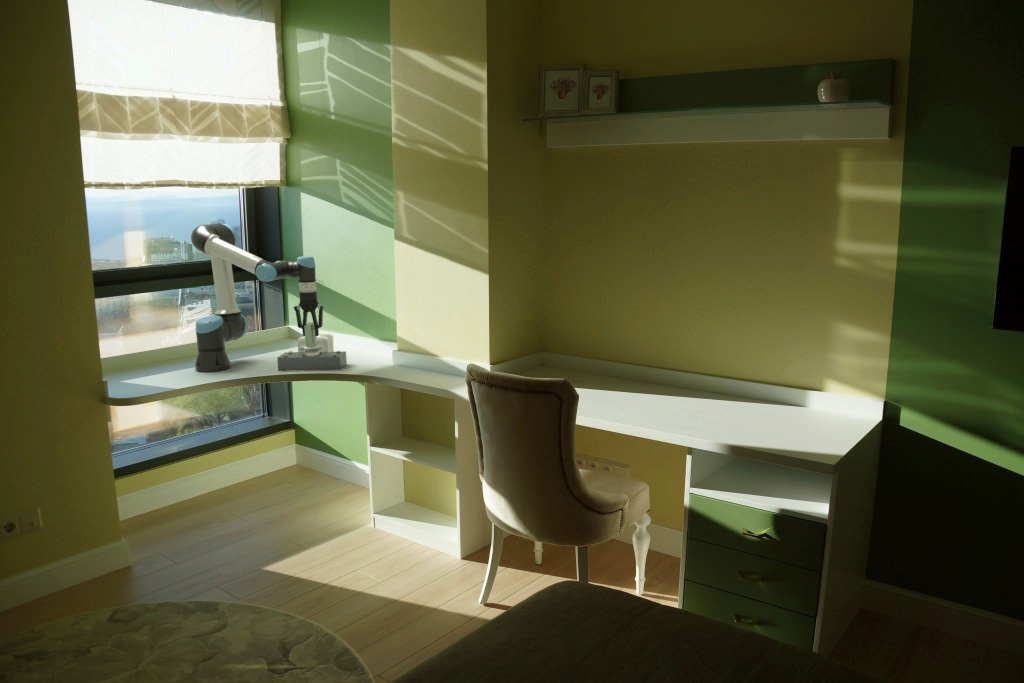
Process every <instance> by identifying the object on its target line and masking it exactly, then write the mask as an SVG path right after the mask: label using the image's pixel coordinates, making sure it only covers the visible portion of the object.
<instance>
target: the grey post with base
mask: <svg viewBox="0 0 1024 683" xmlns="http://www.w3.org/2000/svg"><path fill="white" fill-rule="evenodd" d="M304 328H305V342H306V345H302V346H301V349H302V350H304V356H319V355H320V349H321V348H323V345H321V344H317V343H316V344H314V337H313V329H314V323H313V322H307V324H306V325H304Z"/></svg>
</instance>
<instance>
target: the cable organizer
mask: <svg viewBox="0 0 1024 683" xmlns="http://www.w3.org/2000/svg"><path fill="white" fill-rule="evenodd" d="M296 341H297V352H304V350H302V349H301V346H302V345H306V342H305V336H301V337H299V338H298V339H297V340H296ZM317 344H321V345H323V348H321V349H320V352H335V349H334V336H333V334H332V333H327V332H326V333H325V332H324V333H323V332H321V333H319V335H318V336H317Z"/></svg>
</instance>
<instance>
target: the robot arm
mask: <svg viewBox="0 0 1024 683" xmlns="http://www.w3.org/2000/svg"><path fill="white" fill-rule="evenodd" d="M191 232H192V233H191V236H190V239H191V240H190V241H191V244H192V246H194V248H195V249H196V250H198V251H199V252H201V253H203V254H205V255H207V256H208V257H209V258H210V261H211V268H212V275H213V284H214V290H215V299H216V305H217V309H216V311H215V312H214V315H208V316H204V317H200V318H199V319H197V320H196V321H195V335H196V336H195V337H196V343H197V344H196V345H197V355H196V356H197V357H196V361H195V365H194V367H195V371H196V370H197V372H200V371H213V372H219V371H218V370H221V371H224V370H223V369H225V370H228V369H230V368H231V366H232V365H231V361H230V358H229V356H228V354H227V352H226V343H227V342H230V341H236V340H238V339H241V338H242V337H244V336H245V335H246V333H247V332H248V328H249V325H248V324H249V323H248V320H247V318H246V317H245V315H243V314H242V310H241V309H239V307H238V306H237V305H238V304H237V298H236V297H237V296H236V289H235V282H234V273H233V265H234V266H236V267H239V268H240V269H243V270H245V271H247V272H249V273H251V274H253V275H255V276H256V277H257V279H258V281H260V282H266V283H267V282H272V281H277V280H278V281H279V280H282V279H283V280H284V279H289V278H291V279H297V280H298V289H299V293H298V294H299V302H298V305H295V306H293V310H294V312H295V315H296V323H297V327H298V328H299V329H301V330H302V337H304V336H305V328H304V325H306V324H308V322H307V321H308V313H310V316H311V318H312V323H314V329H313V337H314V344H316V343H317V336H318V335H319V332H320V330H319V329H320V328H322V327H323V322H324V321H323V314H324V308H325V305H321V304H319V302H318V292H317V279H316V277H317V276H316V264H315V263H316V262H315V258H314V256H312V255H311V256H310V255H309V256H305V255H303V256H298V257H297V259H296V260H277V261H275V262H270V261H267V260H265V259H263V258H261V257H259V256H257V255H255V254H253V253H250V252H249V251H247V250H244V249H242V248H240V247H238V246H236V244H237V240H238V237H237V233H236V231H235V229H234V228H233V227H231V226H230V225H229V224H227V223H209V224H200V225H198V226H196V227H194V229H193V230H192V231H191ZM317 308H318V319H317V313H316V309H317ZM301 310H302V315H301ZM301 316H302V317H301Z"/></svg>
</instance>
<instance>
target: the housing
mask: <svg viewBox="0 0 1024 683" xmlns="http://www.w3.org/2000/svg"><path fill="white" fill-rule="evenodd" d="M347 363H348V362H347V351H340V350H336V351H334V352H320V355H319V356H304V352H298V351H294V352H293V351H289V350H288V351H287V352H284V353H282V354H281V355H279V356H278V357H277V370H278V372H284V371H285V372H287V371H286V370H304V371H341V370H343V368H345V367H346V366H347V365H348V364H347Z"/></svg>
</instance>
